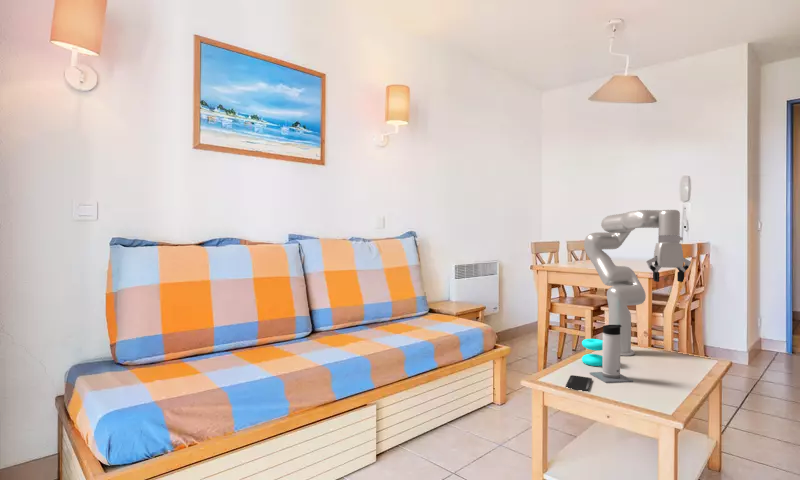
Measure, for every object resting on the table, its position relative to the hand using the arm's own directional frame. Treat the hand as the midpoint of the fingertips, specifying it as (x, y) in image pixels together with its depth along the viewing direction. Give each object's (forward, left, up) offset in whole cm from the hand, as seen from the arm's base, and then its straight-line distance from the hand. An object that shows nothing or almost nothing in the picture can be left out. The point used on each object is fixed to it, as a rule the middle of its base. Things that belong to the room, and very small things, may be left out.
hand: (668, 281), depth 188 cm
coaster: (+12, -28, -36) cm, 47 cm away
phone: (+20, -43, -37) cm, 60 cm away
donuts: (-7, -27, -37) cm, 46 cm away
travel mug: (+12, -27, -36) cm, 47 cm away
